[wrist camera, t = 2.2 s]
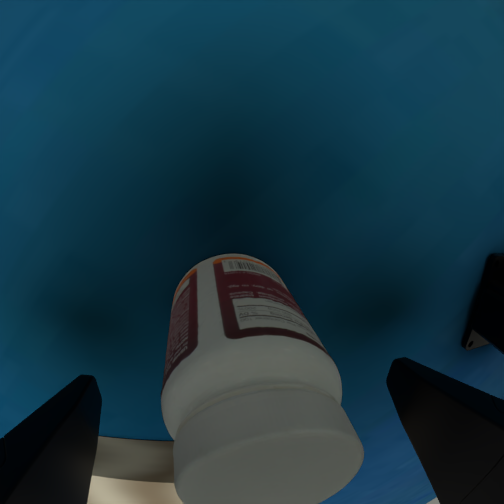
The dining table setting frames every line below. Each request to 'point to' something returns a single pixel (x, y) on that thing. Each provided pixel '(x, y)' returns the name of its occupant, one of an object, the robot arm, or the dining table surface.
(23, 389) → the dining table surface
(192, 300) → the pill bottle
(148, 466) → the birch block
